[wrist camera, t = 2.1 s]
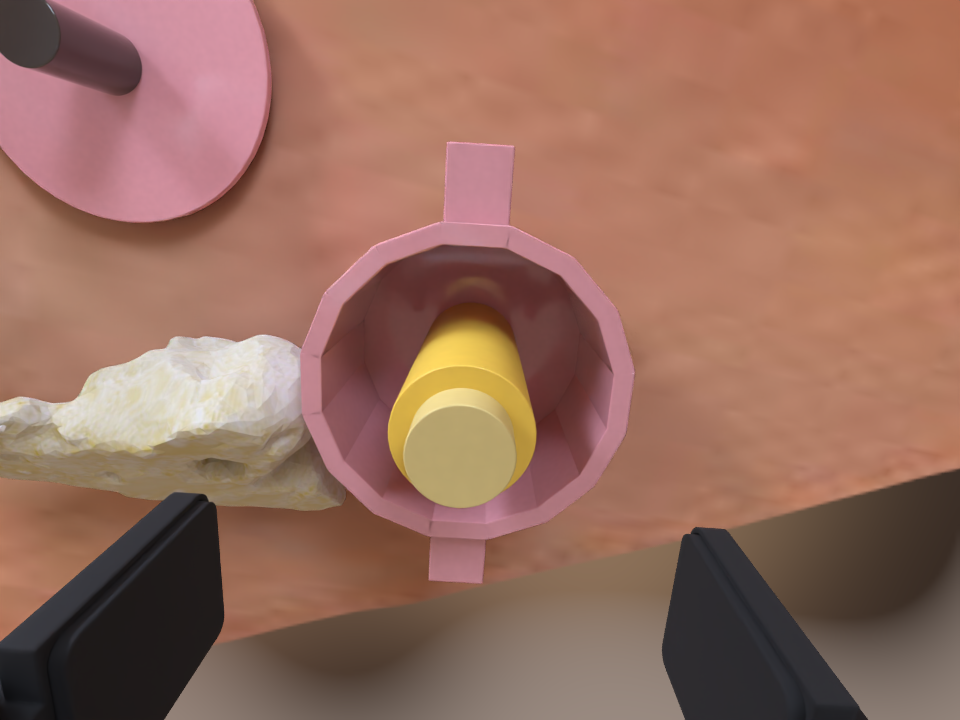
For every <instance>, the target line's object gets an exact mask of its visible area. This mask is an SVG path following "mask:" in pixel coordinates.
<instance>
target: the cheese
mask: <svg viewBox="0 0 960 720" xmlns="http://www.w3.org/2000/svg"><path fill="white" fill-rule="evenodd" d="M300 352H301V348H299V347H297V346H296V345H294V344H293V343H291V342H289V341H287V340H284V339H282V338H279V337H275V336H270V335H257V336H254V337H251V338H249V339H246V340H244V341H241V342H234V341H231V340H227V339H223V338H214V337H207V336H203V337H201V338H199V339H195V338H189V337H178V336H177V337H174V338H172V339H171V340H170V341H169V344H168V346H167V347H166V348H165V349H157V350H150V351H148V352H146V353H145V354H143V355H142V356H140V357H139V358H137V359H134V360H132V361H130V362H127V363H124V364H120V365H115V366H110V367H106V368H102V369H100V370H98V371H96V372H94V373H92V374H91V375H90V376H89V377H88V379H87V381H86V382H85V385H84V387H83V389H82V391H81V392H80V394H79V395H78V397H77V398H76V399H75V400H73V401H71V402H65V403H49V402H44V401H41V400H38V399H34V398H28V397H21V396H20V397H16V398H13V399H10V400H7V401H4V402H1V403H0V477H3V478H8V479H18V480H33V481H47V482H55V483H61V484H66V485H71V486H77V487H85V488H92V489H100V490H108V491H115V492H118V493H120V494H122V495H124V496H126V497H131V498H141V499H146V500H164V499H165V498H167V497H168V496H169V495H170V494H172V493H173V492H183V493H198V494H205V495H206V496H207V498H208V500H209V502H213V503H215V505H222V506H256V507H268V508H284V509H294V510H300V511H310V510H323V509H326V508H330V507H335V506H341V505H342V504H343V502H344V501H345V499H346V489H345V486H343V485H342V484H341V483H340V482H339V481H338V480H337V479H336V478H335V477H334V476H333V475H332V474H331V473H330V472H329V471H328V470H327V468H326V466H325V464H324V461H323V459H322V457H321V455H320V453H319V451H318V448H317V446H316V444H315V442H314V440H313V438H312V435H311V433H310V431H309V429H308V427H307V424H306V422H305V420H304V418H303V414H302V405H301V371H300Z"/></svg>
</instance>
